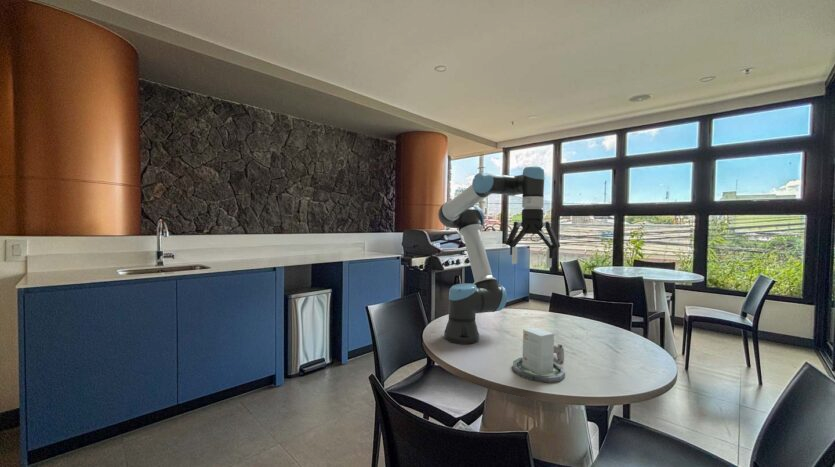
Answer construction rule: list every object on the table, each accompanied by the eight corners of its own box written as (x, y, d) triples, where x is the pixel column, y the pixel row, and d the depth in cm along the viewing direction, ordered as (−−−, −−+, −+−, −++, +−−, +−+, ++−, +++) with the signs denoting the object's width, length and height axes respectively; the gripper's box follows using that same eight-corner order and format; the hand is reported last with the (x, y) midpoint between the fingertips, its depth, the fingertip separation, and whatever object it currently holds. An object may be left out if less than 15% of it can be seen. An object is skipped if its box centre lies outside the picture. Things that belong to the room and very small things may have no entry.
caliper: (563, 362, 122) (564, 345, 122) (561, 363, 122) (561, 346, 121) (536, 343, 142) (536, 328, 142) (533, 343, 142) (534, 328, 142)
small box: (553, 372, 112) (554, 333, 112) (540, 375, 109) (541, 336, 109) (534, 363, 119) (535, 326, 119) (521, 366, 116) (522, 329, 116)
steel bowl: (504, 370, 114) (504, 366, 114) (526, 357, 125) (527, 353, 125) (551, 387, 102) (552, 382, 102) (572, 371, 114) (572, 367, 114)
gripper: (497, 209, 131) (496, 262, 131) (562, 207, 113) (560, 269, 114) (507, 209, 136) (506, 261, 136) (570, 208, 118) (569, 268, 119)
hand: (530, 265), depth 125 cm, fingers open, 13 cm apart
